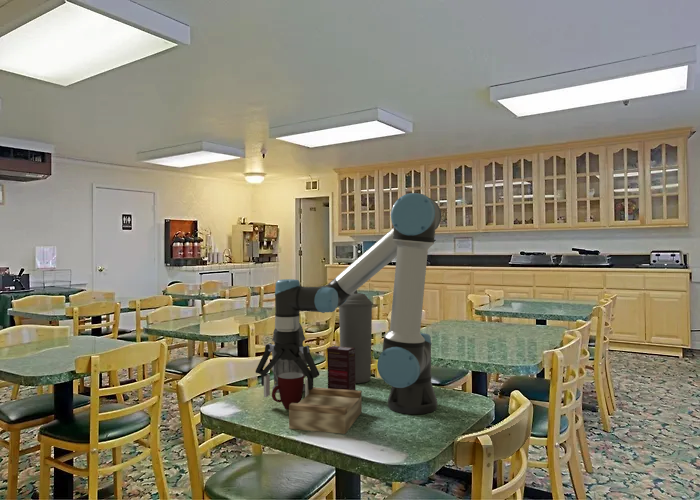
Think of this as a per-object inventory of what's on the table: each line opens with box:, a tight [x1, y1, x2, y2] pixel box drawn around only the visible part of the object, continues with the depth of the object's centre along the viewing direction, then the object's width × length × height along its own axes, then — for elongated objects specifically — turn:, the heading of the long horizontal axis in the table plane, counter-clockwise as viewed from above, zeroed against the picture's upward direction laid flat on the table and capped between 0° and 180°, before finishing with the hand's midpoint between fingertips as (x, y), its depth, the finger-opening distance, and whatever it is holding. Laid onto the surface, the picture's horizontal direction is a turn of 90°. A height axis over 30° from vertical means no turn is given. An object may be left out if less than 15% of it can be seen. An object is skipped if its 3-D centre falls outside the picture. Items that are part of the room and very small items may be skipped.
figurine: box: [270, 323, 308, 393], centre depth 176 cm, size 10×14×25 cm
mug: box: [271, 372, 305, 410], centre depth 155 cm, size 10×8×10 cm
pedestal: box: [288, 386, 363, 435], centre depth 145 cm, size 16×18×6 cm
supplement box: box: [326, 345, 357, 390], centre depth 170 cm, size 9×5×16 cm, turn 60°
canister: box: [338, 289, 373, 384], centre depth 188 cm, size 13×13×35 cm
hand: (287, 398), depth 156 cm, fingers open, 13 cm apart
